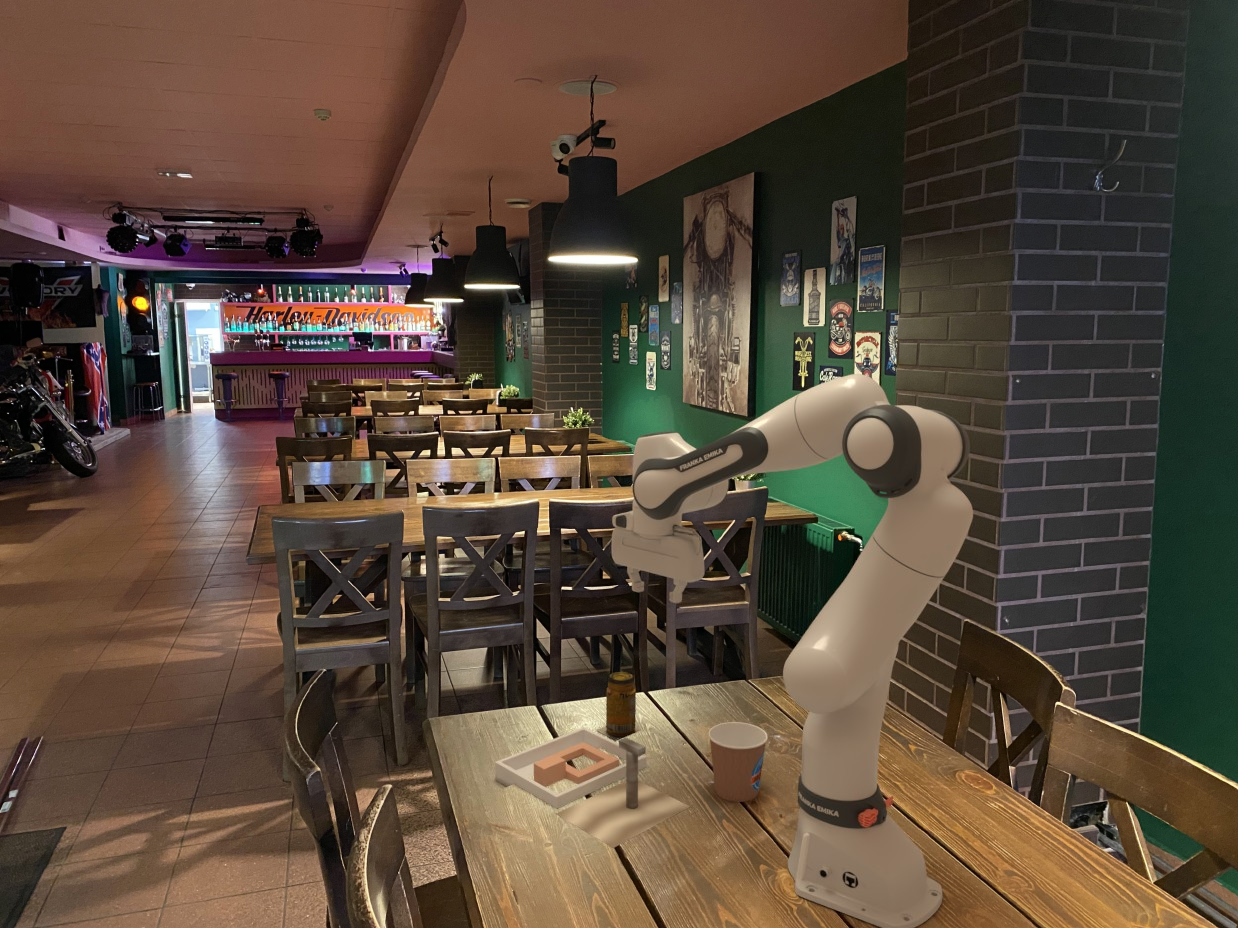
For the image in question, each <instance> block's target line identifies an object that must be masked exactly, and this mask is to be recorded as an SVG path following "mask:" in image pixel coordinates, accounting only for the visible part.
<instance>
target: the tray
mask: <svg viewBox="0 0 1238 928" xmlns="http://www.w3.org/2000/svg"><path fill="white" fill-rule="evenodd" d="M582 742H584V743H586V744H588V745H590V746H592V747H595V748H597V749H600V748H601V749H602V750H604V751H605V752H609V753H611V754H613V755H615V756H617V757H618V758H621V759H623V760H625V761H626V750H624V749H622V748H620V747H619V742H617V741H614V740H612V739H611V738H610V739H609V737H607V736H606V737H605V735H604V736H603V735H601V734H599V733H597V732H595V731H593V730H590V729H588V728H586V727H585V726H584V727H580V728H578V729H575V730H572V731H571V732H568V733H565V734H563V735H560V736H557V737H555V738H553V739H550V740H548V741H546V742H543V743H540V744H538V745H535V746H532V747H529V748H527V749H525V750H522V751H520V752H517V753H514V754H512V755H509V756H507V757H504V758H502V759H499V760H497V761H495V762H494V771H495V773H494V774H495V776H494V778H495V781H496V782H498V783H499V784H501V785H503V786H505V787H510V786H512V785H516V786H517V787H519V788H521V789H523V790H524V791H525V792H527V793H528V794H531V795H533V796H535V797H536V798H538V799H540V800H541V801H543V802H544V803H546V804H548V805H549V806H551V807H553V808H555V809H559V808H561V807H563V806H566V805H568V804H570V803H573V802H574V801H577V800H578V799H581V798H583V797H585V796H587V795H590V794H591V793H593V792H597V790H600V789H602V788H604V787H606V786H608V785H611V784H613V783H614V782H615V783H616V782H617V781H619V780H621V779H624V778H626V762H625V763H622V764H621V765H620V764H619V766H618V767H616V768H614V769H612V770H609V771H607V772H605V773H603V774H600V775H598V776H596V777H594V778H592V779H589V780H587V781H585V782H583V783H580V784H576V785H574V786H572V787H570V788H568V789H565V790H563V791H561V792H558V793H557V792H554V791H553V790H551V789H549V788H548V787H547V786H546V787H544V786H542V785H541V784H539V783H537V782H535V781H534V779H532V777H534V763H536V762H538V761H541V760H543V758H546V757H548V756H551V755H553V754H556V753H558V752H560V751H563V750H565V749H568V748H570V747H573V746H575V745H577V744H580V743H582ZM645 768H647V756H646V755H645V754H643V755H641V756H638V772H639V771H641V770H643V769H645Z"/></svg>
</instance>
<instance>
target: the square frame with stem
mask: <svg viewBox="0 0 1238 928" xmlns="http://www.w3.org/2000/svg"><path fill="white" fill-rule="evenodd" d="M581 756H584V757H586V758H588V759H590V760H593V761H595V762H596V763H593V764H592V765H591V764H590V765H589V766H586V767H584V768H582V769H577V768H575V767H574V766H571V765H570V764H567V762H569V761H573V760H575V759H577V758H579V757H581ZM618 766H620V759H619V758H617V757H615V756H612V755H611V754H609V753H607V752H606V751H603V750H600V748H598V749H597V748H595V747H592V746H590V745H588V744H586V743H584V742H582V743H580V744H577V745H575V746H573V747H570V748H568V749H565V750H563V751H560V752H558V753H556V754H553V755H551V756H548V757H546V758H543V760H541V761H538V762H536V763H534V776H533V780H534V781H535V782H537V783H539V784H541V785H542V786H544V787H546V788H547V787H548V786H549V785H553V784H555V783H557V782H559V781H562V780H564V779H568V780H570V781H572V782H573V783H575V784H576V785H578V784H580V783H583V782H585V781H587V780H589V779H592V778H594V777H596V776H598V775H600V774H603V773H605V772H607V771H609V770H612V769H614V768H616V767H618Z"/></svg>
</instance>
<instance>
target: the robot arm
mask: <svg viewBox="0 0 1238 928" xmlns="http://www.w3.org/2000/svg"><path fill="white" fill-rule="evenodd" d="M970 446H971V444H970V439H969V435H968V433H967V431H966V430H965V427H964V426H963V425H962V424H961V423H960V422H959V421H958V420H957V419H955V418H954V417H952V416H951V415H950V414H949V415H948V414H946V413H944V412H942V411H939V410H936V409H935V410H934V409H928V408H927V409H926V408H923V407H920V406H917V405H909V404H908V405H902V404H901V405H900V404H899V405H896V404H895V405H893V404H891V403H890V402H889V399H888V398H887V395H886V393H885V391H884V389H883V387H882V386H881V385H880V384H879V383H878V382H877V381H876V380H875V379H873V378H872V377H871V376H868V375H866V374H862V373H851V374H848V375H845V376H840V377H837V378H834V379H831V380H827V381H825V382H822V383H820V384H818V385H815V386H813V387H810V388H808V389H807V390H803V391H802V392H800V393H798V394H796V395H794V396H793V397H790V398H789V399H787V400H785V401H784V402H782V403H780V404H777V405H776V406H775V407H774V408H772V409H770V410H768V411H767V412H765V413H764V414H762V415H761V416H759V417H757V418H756V419H753V420H752V421H750V422H748V423H747V424H745V425H743V426H742V427H739V428H738V429H736V430H735V431H733V432H731V433H729V434H727V435H725V436H722V437H720V438H718V439H717V440H714V441H712V442H709V443H708V444H705V445H703V446H701V447H699V448H695V447H694V446H692V445H690V444H689V443H688V442H687V441H685V440H684V439H683V437H682V436H681V435H680V433H679V432H676V431H675V430H674V431H672V430H667V431H660V432H650V433H645V434H643V435H641V436H640V437H638V438H637V441H636V443H635V445H634V450H633V457H632V495H633V500H632V509H631V510H629V511H627V512H621V513H619V514H615V515H613V516H612V519H611V520H612V525H613V527H614V528H613V531H612V533H611V557H612V560H613V562H614V564H616V565H619V566H620V565H621V566H624V567H627V568H626V569H627V570H626V572H627V575H628V577H629V579H630V581H631V590H632V591H633V592H636V593H642V592H644V591H645V581H642V579H641V576H640V573H639V572H640V571H643V572H647V573H650V574H655V575H658V576H663V577H666V578H669V579H673V585H675V586H674V589H673V591H670V592H668V593H669V594H668V595H669V600H668V601H670V603H674V604H679V603H681V602H682V600H683V592H684V591H685V589H686V587H687V585H688V583H689V584H691V583H695V582H698V581H700V580H702V579H703V577H704V576H705V559H704V551H703V550H704V549H703V544H702V542H703V541H702V536H700V534H699V533H698V532H697V531H696V529H694V528H692V527H685V526H683V525H682V524H683V523H682V521H683V520H682V519H683V517H682V516H683V514H686V513H693V512H696V511H700V510H705V509H709V508H713V507H715V506H717V505H719V504H721V503H722V502H723V501H724V500H725V498H726V497H727V494H728V492H729V488H730V479H735V478H738V477H741V476H742V477H743V476H747V475H755V474H761V473H772V472H785V471H792V470H799V469H804V468H809V467H812V466H817V465H819V464H822V463H826V462H828V461H831V460H833V459H836V458H837V457H840V456H842V455H843V456H844V459H845V461H846V463H847V465H848V466H849V468H850V469H851V470H852V471H853V472H854V474H856V475H857V476H858V478H860V479H862V481H864V482H865V483H866V485H867V486H868V488H869V489H870V490H871V492H872V493H873V494H874V495H875V496H877V497H879V498H882V499H887V500H888V504H887V507H886V509H885V513H884V514H883V516H882V518H881V519H880V521H879V523H878V524H877V526H876V528H875V529H874V531H873V532H872V534H871V536H870V538H869V540H868V541H867V543H866V544H865V546H864V548H863V549H862V551H861V553H860V554H859V555H858V557H857V560H855V562H854V565H853V566H852V567H851V569H850V571H849V573H847V576H846V577H845V578H844V580H843V582H841V584H840V585H839V586H838V588H836V590H835V591H834V593H833V594H832V595H831V596H830V598H829V599H828V601H827V602H826V603H825V604H824V606H823V607H822V609H821V610H820V611H819V613H818V614H817V616H816V617H815V619H814V620H813V621H812V622H811V623H810V625H809V626H808V628H807V630H806V631H805V633H803V635H802V637H801V638H800V640H799V641H798V642H797V644H796V646H795V647H794V648H793V649H792V651H791V652H790V654H789V655H788V657H787V659H786V660H785V662H784V666H783V669H782V677H783V683H784V688H785V689H786V692H787V693H788V695H789V697H790V698H791V699H792V701H793V702H794V703H795V704H797V705H798V706H799V707H800V708H801V709H803V710H805V711H806V712H808V715H807V717H806V720H805V722H804V724H803V730H802V742H801V743H802V744H801V745H802V747H801V749H802V750H801V773H800V774H799V776H798V783H797V784H798V785H797V786H798V787H797V803H798V807H799V808H798V809H799V812H798V817H797V825H796V832H795V838H794V840H793V841H794V842H793V844H792V848H791V852H790V855H789V857H788V859H787V867H788V871H789V873H790V875H791V876H792V878H793V880H794V891H795V894H796V895H797V896H799V897H801V898H804V899H806V900H809V901H811V902H813V903H816V904H819V905H822V906H825V907H827V908H829V909H832V910H834V911H838V912H840V913H843V914H845V915H848V916H849V917H853V918H856V919H859V920H860V921H864V922H865V923H868V924H871V925H874V926H877V927H879V928H916V927H919V926H920V925H922V924H923V923H924V922H926V921H927V920H928V919H930V918H932V917H933V915H935V913H937V911H938V909H940V906H941V905H942V901H943V887H942V885H941V884H940V883H939V882H937V881H936V880H934V879H932V878H931V877H929V876H928V875H927V867H926V861H925V857H924V854H923V852H922V850H921V849H920V847H919V846H917V845H916V844H915V842H914V841H913V840H912V839H911V838H910V837H909V836H908V834H906V832H904V831H903V829H901V827H900V826H899V825H898V824H897V822H896V821H895V820H893V818H892V817H891V816H890V815H889V814H888V808H890V807H891V806H892V805H893V804H894V802H893V799H894V796H890V797H888V798H887V799H886V800H884V797H883V793H882V790H881V787H880V785H879V783H878V772H879V769H878V768H879V749H880V737H881V731H882V725H883V720H884V716H885V711H886V706H887V702H888V696H889V691H890V686H891V685H890V684H891V679H892V674H893V673H892V672H893V667H894V664H895V660H896V656H897V653H898V651H899V643H900V641H901V640H902V639H903V637H904V636H905V634H907V632H908V631H909V630H910V629H911V627H912V626H913V625H914V623H915V622H916V621H917V620H918V618H919V616H920V615H921V614H922V612H923V611H924V609H925V607H926V605H928V603H929V601H930V600H931V598H932V597H933V595H934V593H935V592H936V590H937V589H938V588H939V586H940V584H941V582H942V581H943V580H944V579H945V577H946V575H947V574H948V572H949V571H950V568H951V567H952V565H953V563H954V561H955V560H956V558H957V557H958V555H959V553H960V550H961V548H962V546H963V544H964V542H965V541H966V538H967V535H968V533H969V530H970V527H971V524H972V522H973V518H974V510H973V506H972V503H971V501H970V500H969V498H968V497H967V495H965V494H964V492H963V491H962V490H961V489H960V488H958V487H957V486H955V485H953V484H952V483H951V481H950V479H951V478H953V477H955V476H956V475H957V474H959V473H960V471H962V469H964V467H965V465H966V463H967V461H968V459H969V456H970V449H971V448H970Z"/></svg>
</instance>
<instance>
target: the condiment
mask: <svg viewBox="0 0 1238 928" xmlns="http://www.w3.org/2000/svg"><path fill="white" fill-rule="evenodd" d="M607 679H608V680H607V681H608V683H607V686H608V687H607V688H606V695H605V696H606V698H605V700H606V701H605V703H606V704H605V705H606V706H605V708H606V713H605V714H606V715H605V716H606V721H605V723H606V726H605V727H601V728H599V729H597V730H596V731H597V732H599V733H601V734H603V735H604V736H606V737H607V738H610V739H611V740H612V739H613V741H614V740H615V742H617V741H619V740H621V739H623V738H628V737H629V736H631V735H634V734H636V733H638V732H641V731H642V729H640V728H638V727H636V721H637V720H636V719H637V717H636V712H637V711H636V710H637V709H636V706H637V705H636V702H637V697H636V695H637V693H636V692H637V691H636V688H635V683H634V682H635V677H634V675H633V674H631V673H628V672H625V671H624V672H623V671H618V672H617V671H616V672H613V673H611V674H609V676H608V678H607Z"/></svg>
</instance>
